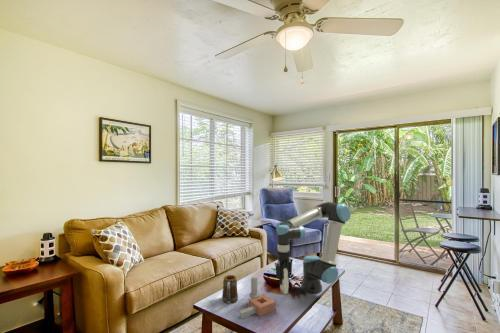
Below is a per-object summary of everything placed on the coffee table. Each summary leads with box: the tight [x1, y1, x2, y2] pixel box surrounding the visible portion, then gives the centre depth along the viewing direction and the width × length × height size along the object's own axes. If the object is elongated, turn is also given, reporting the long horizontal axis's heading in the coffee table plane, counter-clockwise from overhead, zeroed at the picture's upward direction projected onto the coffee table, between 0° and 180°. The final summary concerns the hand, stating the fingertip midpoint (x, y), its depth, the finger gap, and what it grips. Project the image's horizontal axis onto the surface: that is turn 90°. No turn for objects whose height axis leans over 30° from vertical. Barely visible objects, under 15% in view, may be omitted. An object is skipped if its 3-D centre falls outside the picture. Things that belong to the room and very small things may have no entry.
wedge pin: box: [280, 267, 289, 295], centre depth 159 cm, size 4×3×15 cm
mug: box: [221, 274, 239, 305], centre depth 169 cm, size 16×11×15 cm
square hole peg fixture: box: [238, 276, 277, 319], centre depth 160 cm, size 22×17×16 cm
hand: (284, 288), depth 159 cm, fingers closed on wedge pin, 3 cm apart
